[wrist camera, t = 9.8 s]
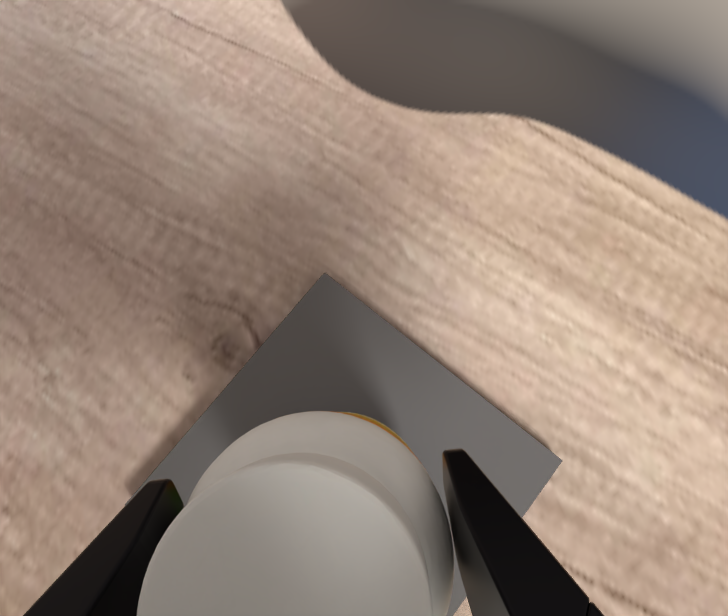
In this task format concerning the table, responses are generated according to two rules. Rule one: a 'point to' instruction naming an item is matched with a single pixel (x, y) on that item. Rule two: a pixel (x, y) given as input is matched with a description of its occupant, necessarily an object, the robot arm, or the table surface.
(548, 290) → the table surface
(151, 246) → the table surface
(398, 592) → the supplement bottle
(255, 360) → the coaster mat
